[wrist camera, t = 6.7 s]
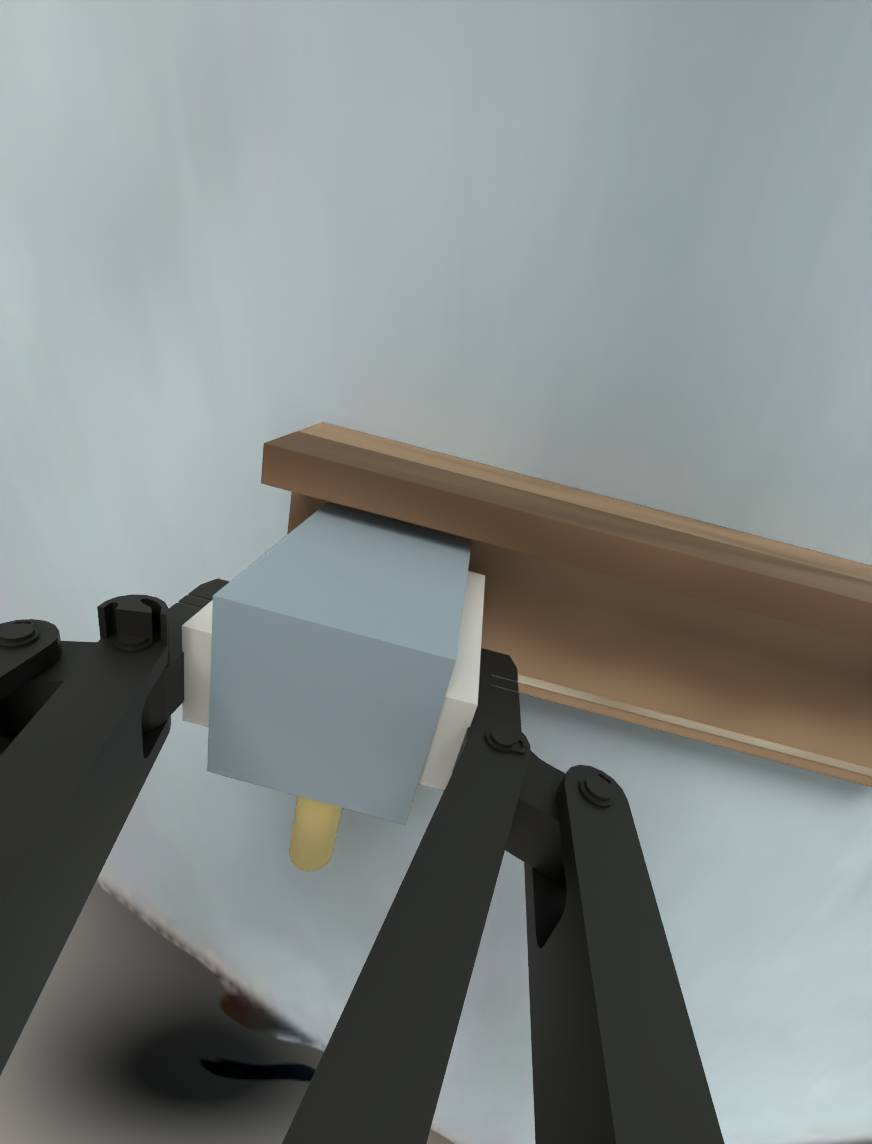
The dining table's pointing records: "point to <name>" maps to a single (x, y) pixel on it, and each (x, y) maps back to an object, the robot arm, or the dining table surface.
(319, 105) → the dining table surface
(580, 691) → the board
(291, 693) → the grey cube mallet
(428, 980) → the robot arm
